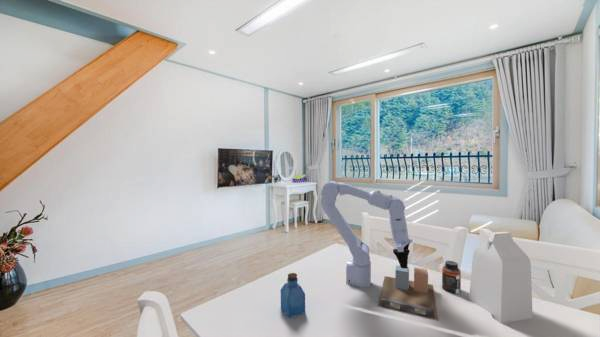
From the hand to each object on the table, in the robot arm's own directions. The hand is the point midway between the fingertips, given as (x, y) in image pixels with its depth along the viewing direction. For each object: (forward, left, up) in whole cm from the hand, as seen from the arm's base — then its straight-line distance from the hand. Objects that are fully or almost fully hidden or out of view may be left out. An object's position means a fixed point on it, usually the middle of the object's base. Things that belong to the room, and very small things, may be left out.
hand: (404, 263), depth 95 cm
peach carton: (+6, +1, -9) cm, 11 cm away
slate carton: (-1, 0, -9) cm, 9 cm away
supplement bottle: (+16, +5, -10) cm, 20 cm away
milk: (+29, -1, -10) cm, 31 cm away
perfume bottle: (-34, -29, -10) cm, 46 cm away
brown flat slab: (+1, -5, -10) cm, 12 cm away
